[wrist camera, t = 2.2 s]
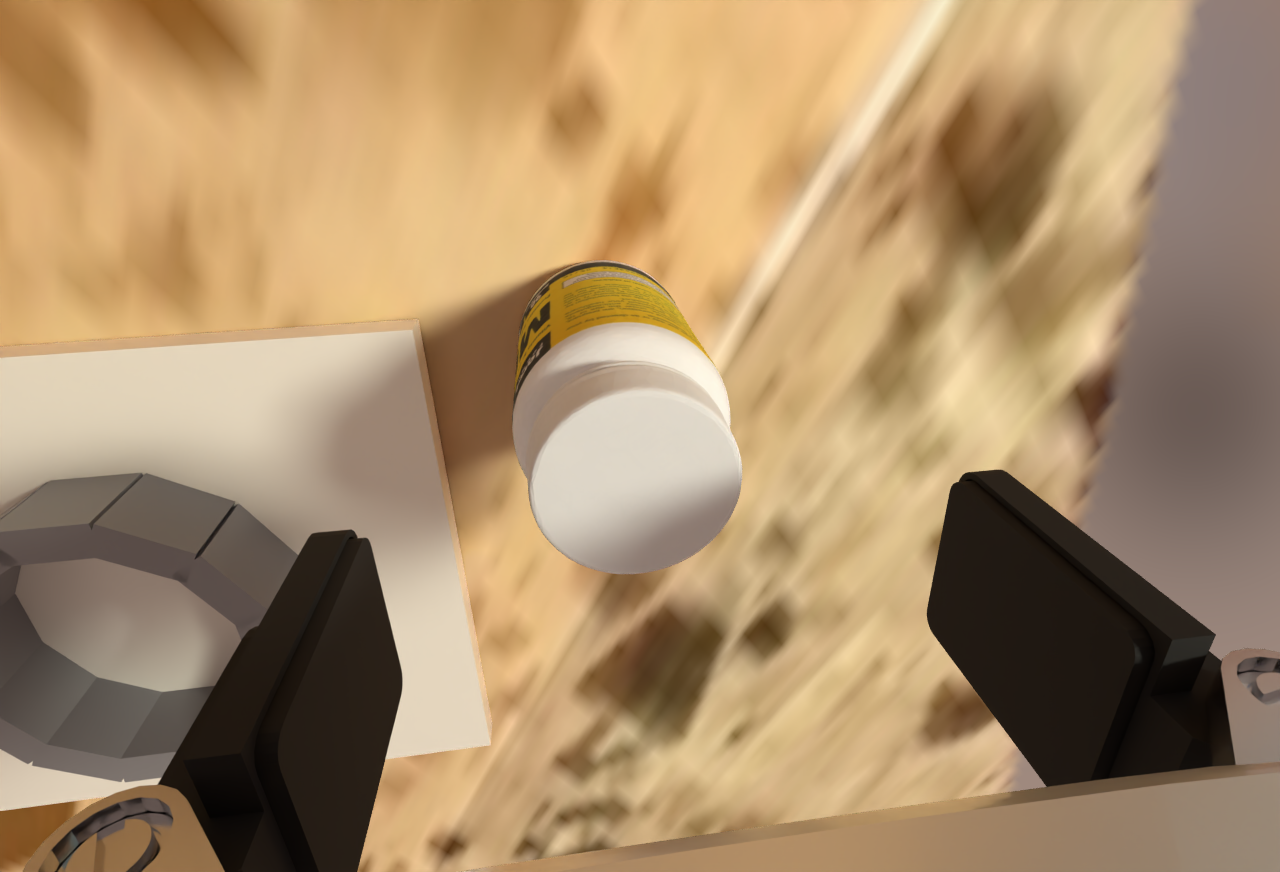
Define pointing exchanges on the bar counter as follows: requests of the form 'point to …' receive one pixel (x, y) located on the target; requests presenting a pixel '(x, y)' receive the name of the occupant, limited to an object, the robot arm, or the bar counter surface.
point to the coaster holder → (209, 536)
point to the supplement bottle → (621, 422)
